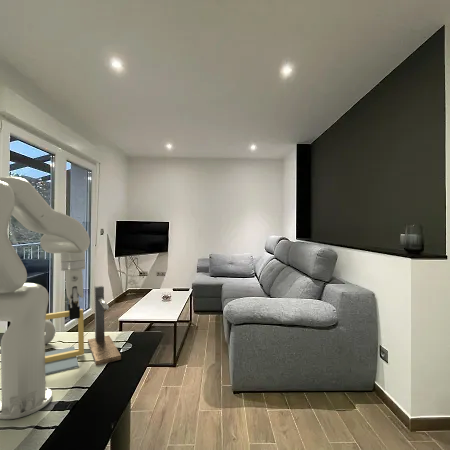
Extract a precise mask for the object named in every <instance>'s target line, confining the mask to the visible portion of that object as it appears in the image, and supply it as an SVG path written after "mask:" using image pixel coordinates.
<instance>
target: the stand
mask: <svg viewBox="0 0 450 450" xmlns="http://www.w3.org/2000/svg"><path fill="white" fill-rule="evenodd" d="M93 288H94V290H93V291H94V337H93V338H90V339H87V345H88V348H89V350H90V353H91V356H92V359H93V362H94V364H95V366H99V365H104V364H109V363H112V362H116V361H120V360H122V354H121V353H120V351H119V350H118V348H117V346H116V344H115V343H114V341H113V339H112V337H111V336H110V335H105V310H106V311H108V310H109V308H110V306H109V305H108V303H107V302H106V301H105V287H104V286H103V285H97V286H94V287H93Z"/></svg>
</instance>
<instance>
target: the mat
mask: <svg viewBox="0 0 450 450" xmlns="http://www.w3.org/2000/svg"><path fill="white" fill-rule="evenodd" d="M73 350H76V348H75V346H69V347H65V348H59V349H55V350H50V351H45V356H49V355H54V354H59V353H64V352H68V351H73ZM77 368H79V362H78V357H77V356H74V357H70V358H65V359H61V360H56V361H52V362H47V363H45V376H46V375H51V374H56V373H60V372H64V371H68V370H72V369H77Z"/></svg>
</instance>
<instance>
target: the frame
mask: <svg viewBox="0 0 450 450" xmlns="http://www.w3.org/2000/svg"><path fill="white" fill-rule="evenodd" d="M68 317H69V311H68V310H65V311H58V312H50V313H46V318H45V320H54V319H55V320H56V319H61V318H68ZM84 323H85V322H84V309H83V308H80V318H78V319H77V329H78V330H77V332H78V333H77V335H78V339H77V340H78V344H77V345H78V346H77V347H78V349H75V350H73V351H68V352H64V353H59V354H54V355H49V356H45V363H47V362H52V361H56V360H61V359H65V358H70V357H74V356H83V355H85V340H84V339H85V337H84V336H85V334H84V333H85V330H84V328H85V327H84V325H85V324H84Z"/></svg>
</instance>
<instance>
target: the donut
mask: <svg viewBox="0 0 450 450" xmlns="http://www.w3.org/2000/svg"><path fill="white" fill-rule="evenodd" d="M55 334H56V328H55V325H54V323H53V322H52V321H51V319H49V320H45V345H48V344H50V343H51V342H52V341H53V340H54V337H55V336H56V335H55Z"/></svg>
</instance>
